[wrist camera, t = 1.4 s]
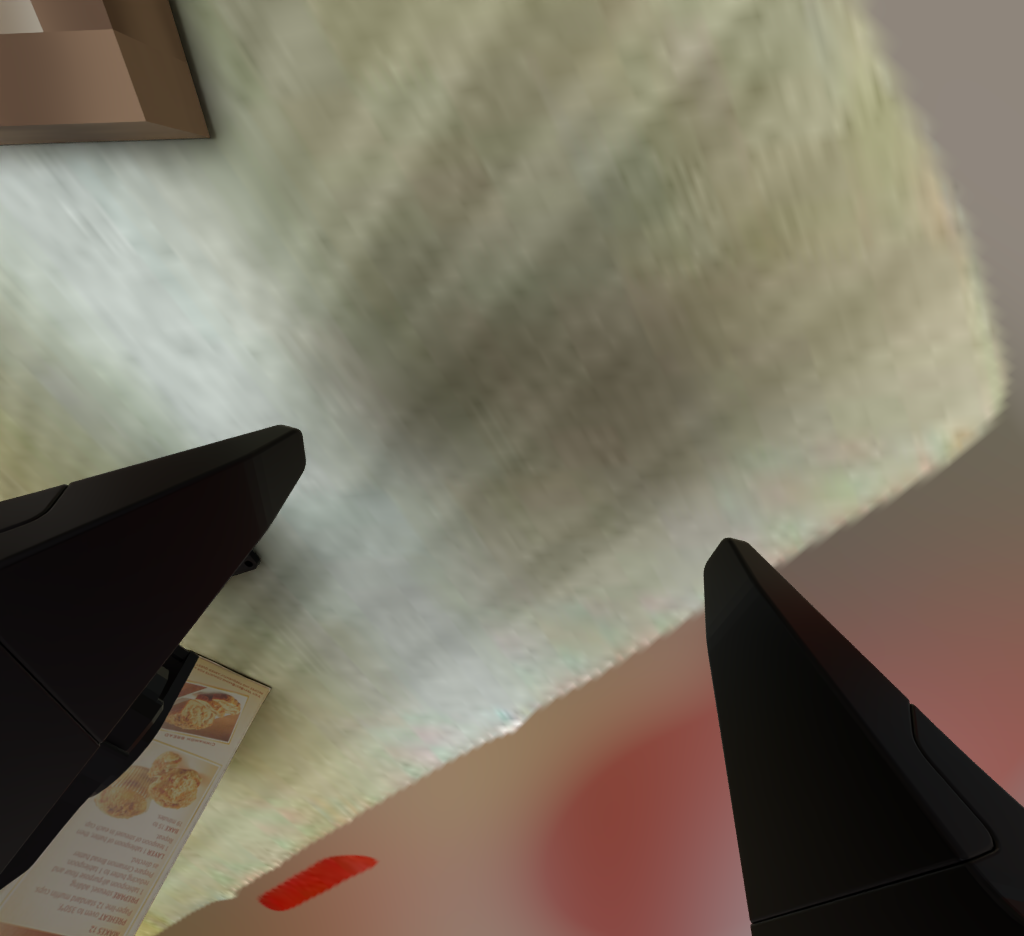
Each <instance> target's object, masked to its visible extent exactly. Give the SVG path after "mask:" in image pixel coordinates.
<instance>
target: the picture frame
mask: <svg viewBox="0 0 1024 936" xmlns="http://www.w3.org/2000/svg"><path fill="white" fill-rule="evenodd" d="M184 138H210V135H209V132H208V129H207V126H206V122H205V119H204V116H203V113H202V109H201V106H200V103H199V99H198V96H197V93H196V90H195V86H194V83H193V80H192V77H191V73H190V70H189V67H188V63H187V60H186V57H185V54H184V50H183V47H182V44H181V41H180V37H179V34H178V31H177V28H176V24H175V21H174V18H173V14H172V11H171V8H170V5H169V1H168V0H0V145H3V144H33V143H64V142H94V141H124V140H154V139H184Z"/></svg>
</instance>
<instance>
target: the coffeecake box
mask: <svg viewBox="0 0 1024 936" xmlns="http://www.w3.org/2000/svg"><path fill="white" fill-rule="evenodd" d="M270 690H271V688H269V687H267V686H265V685H263V684H260V683H258V682H255V681H253V680H250V679H248V678H246V677H244V676H242V675H240V674H238V673H235V672H233V671H231V670H229V669H227V668H225V667H223V666H221V665H219V664H217V663H215V662H213V661H211V660H208V659H206V658H204V657H201V656H199V658H198V660H197V662H196V664H195V666H194V668H193V670H192V671H191V673H190V675H189V677H188V679H187V681H186V683H185V684H184V686H183V688H182V690H181V692H180V694H179V695H178V697H177V699H176V701H175V703H174V705H173V707H172V708H171V710H170V712H169V714H168V716H167V718H166V720H165V721H164V723H163V725H162V727H161V728H160V730H159V731H158V733H157V735H156V736H155V737H154V739H153V740H152V741H151V743H150V744H149V745H148V747H147V748H146V749H145V750H144V752H143V753H142V754H141V755H140V756H139V757H138V759H137V760H136V761H135V762H134V763H133V764H132V765H131V766H130V767H129V768H128V769H127V770H126V771H125V772H124V773H123V774H122V775H121V776H120V777H119V778H118V779H117V780H115V781H114V782H113V783H112V784H111V785H110V786H108V787H107V788H106V789H104V790H103V791H101V792H100V793H99V794H97V795H95V796H93V797H90V798H88V799H87V800H86V801H85V802H84V804H83V805H82V806H81V807H80V808H79V809H78V810H77V811H76V813H75V814H74V815H73V816H72V817H71V819H70V820H69V821H68V822H67V823H66V825H65V826H64V827H63V828H62V829H61V831H60V832H59V833H58V834H57V836H56V837H55V838H54V839H53V841H52V842H51V843H50V844H49V846H48V847H47V848H46V849H45V851H44V852H43V853H42V854H41V855H40V857H39V858H38V859H37V860H36V862H35V863H34V864H33V865H32V866H31V867H30V868H29V869H28V870H27V871H26V872H25V873H23V874H22V875H20V876H19V877H18V878H16V879H15V880H13V881H12V882H11V883H9V884H8V885H7V886H5V887H4V888H2V889H1V890H0V936H135V934H136V932H137V930H138V928H139V926H140V925H141V923H142V921H143V919H144V917H145V915H146V914H147V912H148V910H149V908H150V906H151V904H152V903H153V901H154V899H155V897H156V895H157V894H158V892H159V890H160V888H161V886H162V884H163V883H164V881H165V879H166V877H167V875H168V873H169V872H170V870H171V868H172V866H173V864H174V863H175V861H176V859H177V857H178V855H179V854H180V852H181V850H182V848H183V846H184V845H185V843H186V841H187V839H188V837H189V836H190V834H191V832H192V830H193V828H194V827H195V825H196V823H197V821H198V819H199V818H200V816H201V814H202V812H203V811H204V809H205V807H206V805H207V803H208V802H209V800H210V798H211V796H212V794H213V793H214V791H215V789H216V787H217V785H218V784H219V782H220V780H221V778H222V776H223V774H224V773H225V771H226V769H227V767H228V765H229V763H230V761H231V759H232V758H233V756H234V754H235V752H236V750H237V748H238V747H239V745H240V743H241V741H242V739H243V737H244V736H245V734H246V732H247V730H248V728H249V726H250V725H251V723H252V721H253V719H254V717H255V716H256V714H257V712H258V710H259V708H260V707H261V705H262V703H263V701H264V700H265V698H266V696H267V695H268V693H269V692H270Z"/></svg>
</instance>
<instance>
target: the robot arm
mask: <svg viewBox="0 0 1024 936" xmlns="http://www.w3.org/2000/svg"><path fill="white" fill-rule="evenodd" d="M305 465H306V458H305V450H304V442H303V436H302V433H301V431H300V430H299V429H297V428H293V427H289V426H285V425H276V426H272V427H269V428H265V429H262V430H258V431H254V432H251V433H247V434H244V435H240V436H237V437H233V438H229V439H226V440H222V441H219V442H215V443H211V444H208V445H204V446H201V447H197V448H193V449H190V450H186V451H183V452H179V453H175V454H172V455H168V456H165V457H161V458H158V459H154V460H150V461H147V462H143V463H140V464H136V465H132V466H129V467H125V468H122V469H118V470H114V471H111V472H107V473H104V474H100V475H96V476H93V477H89V478H86V479H82V480H79V481H75V482H72V483H70V484H69V485H66V484H64V485H60V486H57V487H53V488H49V489H46V490H42V491H39V492H35V493H31V494H28V495H24V496H20V497H16V498H13V499H9V500H5V501H1V502H0V890H1V889H2V888H4V887H5V886H7V885H8V884H9V883H11V882H12V881H13V880H15V879H16V878H18V877H19V876H20V875H22V874H23V873H25V872H26V871H27V870H28V869H29V868H30V867H31V866H32V865H33V864H34V863H35V862H36V860H37V859H38V858H39V857H40V855H41V854H42V853H43V852H44V851H45V849H46V848H47V847H48V846H49V844H50V843H51V842H52V841H53V839H54V838H55V837H56V836H57V834H58V833H59V832H60V831H61V829H62V828H63V827H64V826H65V825H66V823H67V822H68V821H69V820H70V819H71V817H72V816H73V815H74V814H75V813H76V811H77V810H78V809H79V808H80V807H81V806H82V805H83V804H84V802H85V801H86V800H87V799H88V798H90V797H93V796H95V795H97V794H99V793H100V792H101V791H103V790H104V789H106V788H107V787H108V786H110V785H111V784H112V783H113V782H114V781H115V780H117V779H118V778H119V777H120V776H121V775H122V774H123V773H124V772H125V771H126V770H127V769H128V768H129V767H130V766H131V765H132V764H133V763H134V762H135V761H136V760H137V759H138V757H139V756H140V755H141V754H142V753H143V752H144V750H145V749H146V748H147V747H148V745H149V744H150V743H151V741H152V740H153V739H154V737H155V736H156V735H157V733H158V731H159V730H160V728H161V727H162V725H163V723H164V721H165V720H166V718H167V716H168V714H169V712H170V710H171V708H172V707H173V705H174V703H175V701H176V699H177V697H178V695H179V694H180V692H181V690H182V688H183V686H184V684H185V683H186V681H187V679H188V677H189V675H190V673H191V671H192V670H193V668H194V666H195V664H196V662H197V660H198V658H199V655H197V654H196V653H194V652H193V651H191V650H190V651H188V650H186V649H185V648H183V647H182V646H180V645H179V643H180V642H181V641H182V639H183V638H184V637H185V635H186V634H187V633H188V632H189V630H190V629H191V628H192V626H193V625H194V624H195V623H196V621H197V620H198V619H199V617H200V616H201V615H202V614H203V612H204V611H205V610H206V608H207V607H208V606H209V605H210V603H211V602H212V601H213V599H214V598H215V597H216V596H217V594H218V593H219V592H220V590H221V589H222V588H223V587H224V585H225V584H226V583H227V581H228V580H229V579H230V578H231V576H234V575H238V574H241V573H244V572H247V571H251V570H254V569H256V568H257V566H258V565H259V564H260V562H261V561H260V558H259V557H258V556H257V555H256V553H255V552H254V551H253V550H252V549H253V548H254V547H255V545H256V544H257V543H258V542H259V540H260V539H261V538H262V536H263V535H264V534H265V532H266V531H267V530H268V528H269V527H270V525H271V524H272V522H273V521H274V519H275V517H276V516H277V514H278V512H279V511H280V509H281V508H282V506H283V504H284V503H285V501H286V499H287V498H288V496H289V494H290V493H291V491H292V490H293V488H294V486H295V485H296V483H297V481H298V480H299V478H300V476H301V475H302V473H303V471H304V469H305ZM704 597H705V623H706V639H707V648H708V656H709V662H710V667H711V675H712V681H713V688H714V694H715V700H716V707H717V713H718V720H719V726H720V732H721V738H722V744H723V751H724V758H725V764H726V771H727V776H728V783H729V789H730V796H731V802H732V809H733V815H734V822H735V828H736V834H737V840H738V847H739V853H740V860H741V866H742V873H743V878H744V886H745V891H746V898H747V905H748V911H749V917H750V921H751V923H752V924H751V932H752V936H1024V807H1023V806H1021V805H1020V804H1019V803H1018V802H1017V801H1016V800H1015V799H1014V798H1013V797H1012V796H1010V795H1009V794H1008V793H1007V792H1006V791H1005V790H1004V789H1003V788H1002V787H1001V786H999V785H998V784H997V783H996V782H995V781H994V780H993V779H992V778H991V777H990V776H988V775H987V774H986V773H985V772H984V771H983V770H982V769H981V768H980V767H979V766H977V765H976V764H975V763H974V762H973V761H972V760H971V759H970V758H969V757H968V756H967V755H966V754H965V753H964V752H963V751H961V750H960V749H959V748H958V747H957V746H956V745H955V744H954V743H953V742H952V741H951V740H950V739H949V738H948V737H947V736H946V735H945V734H944V733H943V732H942V731H940V730H939V729H938V728H937V727H936V726H935V725H934V724H933V723H932V722H931V721H930V720H929V719H928V718H927V717H926V716H925V715H924V714H923V713H922V712H921V711H920V710H919V709H918V708H917V707H916V706H915V705H913V704H910V703H909V700H908V699H907V698H906V697H905V696H904V695H903V694H902V693H901V692H900V691H899V690H898V689H897V688H896V687H895V686H894V685H893V684H892V683H891V682H890V681H889V680H888V679H887V678H886V677H885V676H884V675H883V674H882V673H881V672H880V671H879V670H878V669H877V668H876V667H875V666H874V665H873V664H872V663H871V662H870V661H869V660H868V659H867V658H866V657H864V656H863V655H862V654H861V653H860V652H859V651H858V650H857V649H856V648H855V647H854V646H853V645H852V644H851V643H850V642H849V641H848V640H847V639H846V638H845V637H844V636H843V635H842V634H841V633H840V632H839V631H838V630H837V629H836V628H835V627H834V626H833V625H831V623H830V622H829V621H827V620H826V619H825V618H824V617H823V616H822V615H821V614H820V613H819V612H818V611H817V610H816V609H815V608H814V607H813V606H812V605H811V604H810V603H809V602H808V601H807V600H806V599H805V598H804V597H803V596H802V595H801V594H800V593H799V592H798V591H797V590H796V589H795V588H794V587H793V586H792V585H791V584H790V583H788V581H787V580H786V579H784V578H783V577H782V576H781V575H780V574H779V573H778V572H777V571H776V570H775V569H774V568H773V567H772V566H771V565H770V564H769V563H768V562H767V561H766V560H765V559H764V558H763V557H762V556H761V555H760V554H759V553H758V552H757V551H756V550H755V549H754V548H753V547H752V546H751V545H750V544H749V543H747V542H745V541H741V540H737V539H733V538H725V539H723V540H722V541H721V542H720V544H719V545H718V547H717V548H716V550H715V551H714V552H713V554H712V555H711V557H710V558H709V560H708V561H707V563H706V565H705V568H704Z"/></svg>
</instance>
